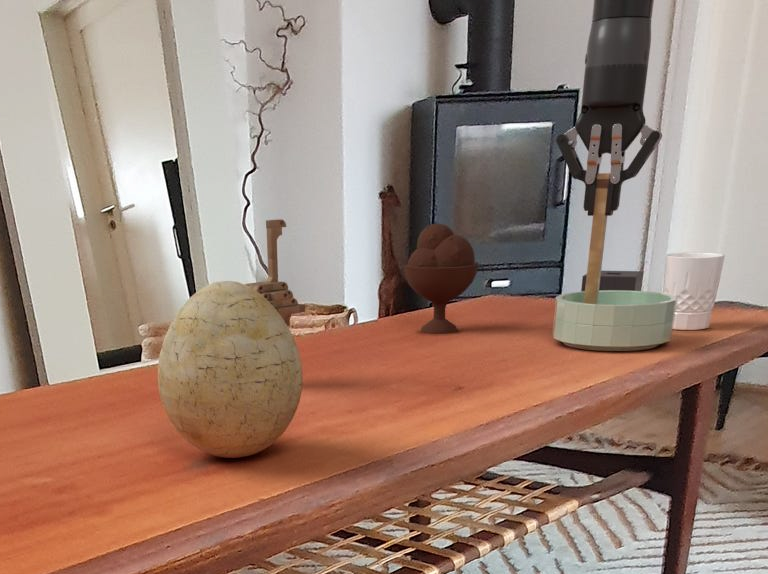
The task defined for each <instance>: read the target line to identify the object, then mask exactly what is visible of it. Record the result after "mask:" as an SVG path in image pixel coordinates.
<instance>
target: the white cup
mask: <svg viewBox="0 0 768 574" xmlns="http://www.w3.org/2000/svg"><path fill="white" fill-rule="evenodd" d="M725 256H726V255H725V254H723V253H719V252H698V251H697V252H695V251H694V252H675V253H674V252H673V253H667V254H666V255H665V261H664V262H665V263H664V272H663V273H664V274H663V285H662V293H664V294H669V295H673V296H675V297H677V298H678V299H677V306H676V313H675V320H674V327H673V330H677V331H699V330H705V329H708V328H710V324H711V319H712V314H713V309H714V307H715V304H716V303H715V302H716V299H717V294H718V290H719V286H720V282H721V281H720V280H721V277H722V276H721V275H722V272H723V271H722V270H723V266H724V261H725Z"/></svg>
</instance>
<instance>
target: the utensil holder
mask: <svg viewBox="0 0 768 574" xmlns="http://www.w3.org/2000/svg"><path fill="white" fill-rule="evenodd" d="M586 277H587V273H585V274H584V275H582V279H581V287H580V288H581V289H580V291H585V286H586ZM643 278H644V270H601V277H600V285H599V290H628V291H642V286H643V280H644V279H643Z"/></svg>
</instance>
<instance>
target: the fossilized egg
mask: <svg viewBox="0 0 768 574" xmlns="http://www.w3.org/2000/svg"><path fill="white" fill-rule="evenodd" d="M156 373H157V387H158V388H157V389H158V393H159V397H160V401H161V404H162V407H163V409H164V412H165V413H166V415H167V417H168V419H169V421H170V423H171V424H172V426H173V427H174V428H175V430H176V431H177V432H178V433H179V435H180V436H181V437H182V438H183V439H184V440H185V441H187V442H188V443H189V444H191V445H192V446H194V447H195V448H196V449H198V450H199V451H202V452H204V453H206V454H209V455H211V456H214V457H219V458H226V459H227V458H228V459H236V458H237V459H238V458H244V457H249V456H253V455H256V454H258V453H259V452H262V451H264V450H265V449H267V448H269V447H270V446H272V444H274V443H275V442H276V441H277V440H278V439H279V438H281V436H282V435H283V434H284V433H285V432H286V430H287V429H288V428H289V426H290V424H291V422H292V421H293V419H294V417H295V415H296V412H297V410H298V407H299V405H300V401H301V397H302V393H303V392H302V391H303V385H304V384H303V383H304V382H303V379H304V378H303V365H302V361H301V356H300V352H299V348H298V346H297V343H296V340H295V338H294V336H293V333H292V332H291V330H290V328H289V326H287V325H286V323H285V321H284V320H283V318H282V317H281V315H280V314H279V313H278V312H277V310H276V309H275V308H274V307H273V305H272V304H271V303H270V302H269V301H268V300H267V299H266V298H264V297H263V296H262V295H261V294H260V293H258V292H257V291H255V290H254V289H252V288H251V287H249V286H247V285H245V284H244V283H242V282H239V281H233V280H221V281H216V282H215V281H214V282H212V283H209V284H208V285H207V284H206V285H205V286H203V287H202V288H200V289H199V290H197V291H196V292H195V293H193V294H192V295H191V296H190V297H189V298H188V299H187V300H186V302H185V303H184V304H183V305H182V306H181V307H180V309H178V312H177V313H176V315H175V317H174V318H173V319H172V321H171V323H170V325H169V327H168V330H167V332H166V333H165V336H164V338H163V342H162V345H161V349H160V352H159V356H158V364H157V372H156Z"/></svg>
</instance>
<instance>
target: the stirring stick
mask: <svg viewBox="0 0 768 574" xmlns="http://www.w3.org/2000/svg"><path fill="white" fill-rule="evenodd" d="M610 174H611V172H602V173H601V172H599V174H597V182H596V193H595V202H594V212H593V216H592V223H591V230H590V231H591V232H590V241H589V250H588V260H587V267H586V274H587V277H586V286H585V295H584V303H590V304H597V303H598V294H599V285H600V277H601V271H602V269H603V267H602V266H603V259H604V258H603V257H604V251H605V250H604V249H605V241H606V233H607V223H608V216H605V209H606V201H607V192H608V185H610V182H611V181H610Z"/></svg>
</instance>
